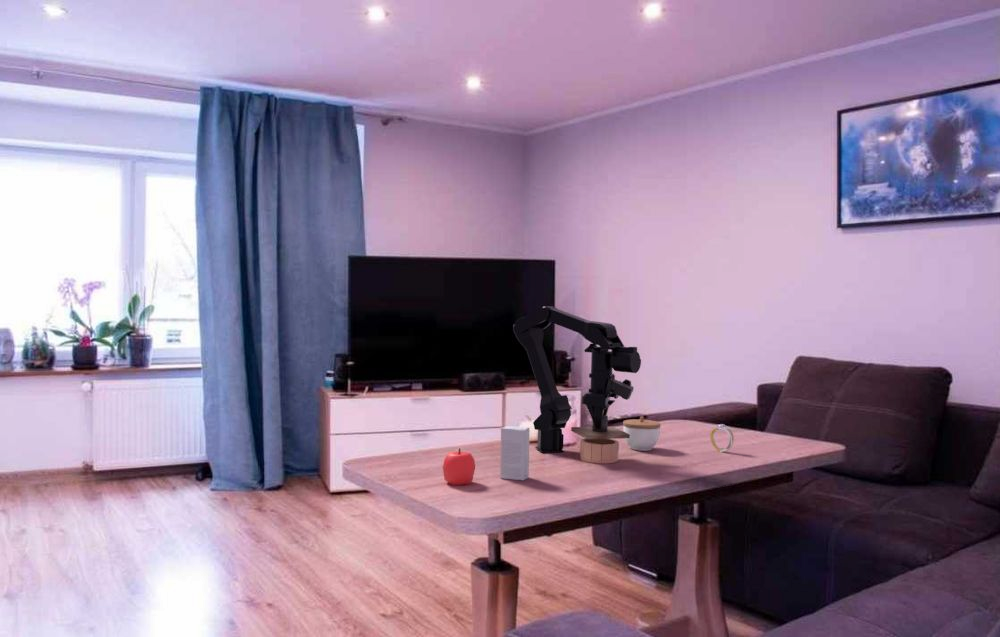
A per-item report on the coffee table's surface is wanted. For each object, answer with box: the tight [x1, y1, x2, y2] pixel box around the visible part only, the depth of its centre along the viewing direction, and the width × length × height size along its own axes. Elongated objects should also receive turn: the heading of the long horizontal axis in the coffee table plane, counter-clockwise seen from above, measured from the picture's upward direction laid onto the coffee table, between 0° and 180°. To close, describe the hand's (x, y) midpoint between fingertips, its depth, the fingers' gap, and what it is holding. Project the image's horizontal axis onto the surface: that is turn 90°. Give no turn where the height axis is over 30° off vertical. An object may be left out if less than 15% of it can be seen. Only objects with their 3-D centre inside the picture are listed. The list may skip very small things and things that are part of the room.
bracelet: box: [710, 423, 735, 453], centre depth 214 cm, size 7×3×8 cm, turn 35°
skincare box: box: [499, 425, 530, 481], centre depth 176 cm, size 6×4×12 cm
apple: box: [442, 447, 476, 486], centre depth 170 cm, size 8×8×8 cm
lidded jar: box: [622, 416, 661, 452], centre depth 216 cm, size 11×11×9 cm
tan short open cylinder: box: [579, 437, 620, 465], centre depth 199 cm, size 10×10×5 cm
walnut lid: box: [570, 415, 630, 440], centre depth 199 cm, size 12×12×5 cm
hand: (599, 427), depth 199 cm, fingers closed on walnut lid, 4 cm apart
